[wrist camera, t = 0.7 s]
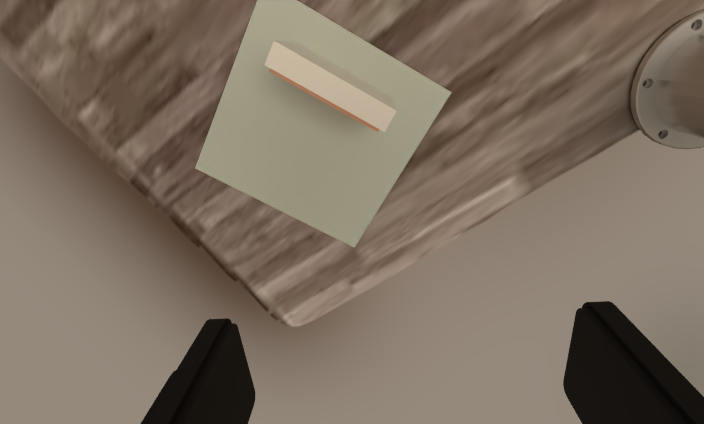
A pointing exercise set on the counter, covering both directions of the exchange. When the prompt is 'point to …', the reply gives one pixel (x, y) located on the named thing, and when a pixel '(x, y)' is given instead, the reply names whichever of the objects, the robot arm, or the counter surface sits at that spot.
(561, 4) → the counter surface
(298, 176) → the mat
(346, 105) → the tile
